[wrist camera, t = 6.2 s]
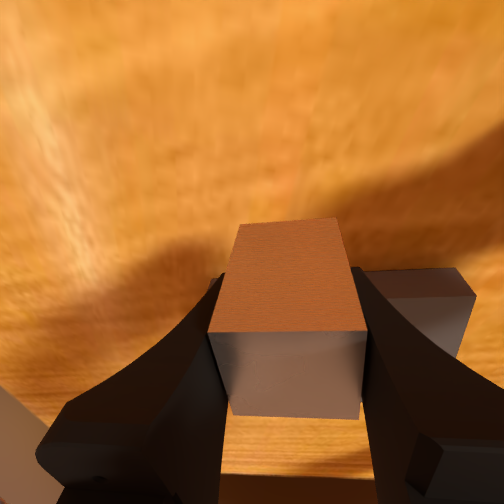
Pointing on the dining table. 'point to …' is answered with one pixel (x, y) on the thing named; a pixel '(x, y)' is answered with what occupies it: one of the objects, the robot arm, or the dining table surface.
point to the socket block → (428, 301)
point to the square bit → (290, 323)
